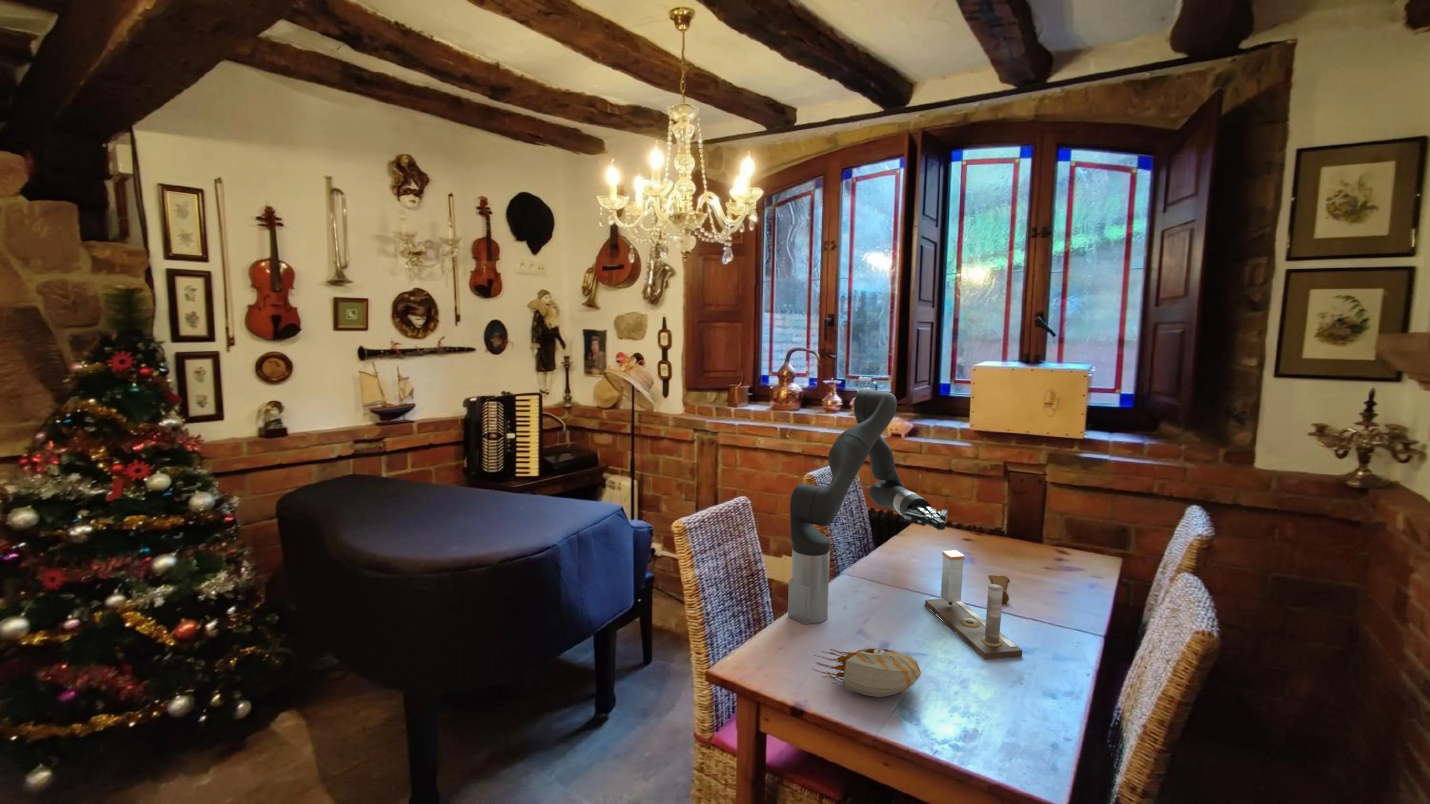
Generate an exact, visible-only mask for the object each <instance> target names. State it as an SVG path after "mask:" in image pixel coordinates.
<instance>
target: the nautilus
mask: <svg viewBox="0 0 1430 804" xmlns="http://www.w3.org/2000/svg"><path fill="white" fill-rule="evenodd" d="M829 650H830V651H829V652H828V651H823V650H821V652H822V653H825V654H830V655H833V656H838V657H837V658H829V657H824V656H820V655H817V654H813V656H815V657H818V658H822V659H826V660H828V661H831V662H835V663H839V664H837V665H836V666H832V665H830V664H829V665H828V664H825V663H821V662H818V661H814V662H815V664H817V665H818V666H821V667H825V668H828V669H833V670H835V671H836V673H834V672H832V673H831V672H829V671H826V672H824V671H820V670H817V669H816V668H815V669H814V668H811V669H812V670H813V671H815V672H817V673H822V674H827V675H826V676H823V678H830V679H833V680H834V681H836V682H832V683H831V685H833V684H840V685H841V684H842V685H844V686H845V689H846V690H849V691H852V692H855V693H859V694H861V695H865V696H868V697H876V698H880V697H887V696H888V697H889V696H893V695H895V694H898V693H902V692H905V691H907V690H908V689H910V688H911V687H912V686H913V685H914V684H915V683H916V682H917V680H918V679H920V677H921V674H922V671H921V668H920V666H919V663H918V661H917V660H916V659H915V658H913V657H912V656H911V655H909V654H907V653H906V652H905V653H904V652H901V651H897V650H893V649H889V648H881V647H880V648H874V647H872V648H871V647H870V648H863V649H858V650H857V651H855V652H851V651H848V652H846V651H839V650H837V649H833V648H829ZM837 653H838V654H837ZM839 654H840V655H839ZM832 675H833V676H832Z"/></svg>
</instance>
